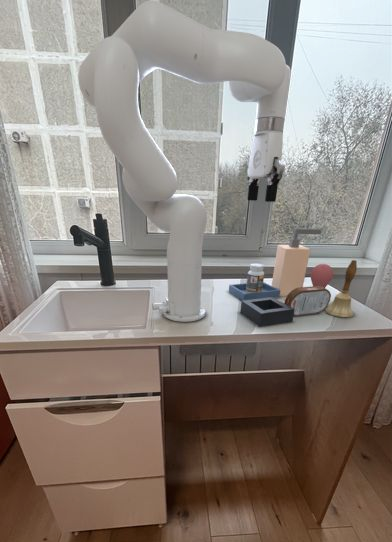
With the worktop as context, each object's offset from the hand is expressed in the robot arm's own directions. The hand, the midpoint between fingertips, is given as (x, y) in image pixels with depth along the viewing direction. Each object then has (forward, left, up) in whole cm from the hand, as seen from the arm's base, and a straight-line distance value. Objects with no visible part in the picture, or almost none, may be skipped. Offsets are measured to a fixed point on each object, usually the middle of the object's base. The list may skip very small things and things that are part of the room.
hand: (260, 200), depth 85 cm
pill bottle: (+4, +4, -30) cm, 30 cm away
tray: (+4, +4, -30) cm, 31 cm away
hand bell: (+20, -20, -31) cm, 42 cm away
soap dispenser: (+19, +2, -31) cm, 36 cm away
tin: (+9, -18, -31) cm, 36 cm away
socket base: (-4, -16, -30) cm, 34 cm away
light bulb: (+23, -7, -31) cm, 39 cm away
